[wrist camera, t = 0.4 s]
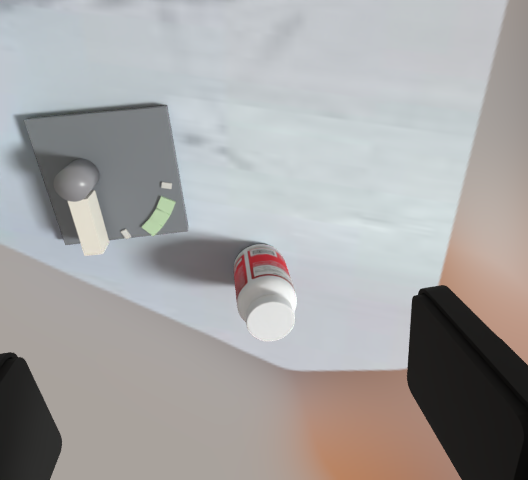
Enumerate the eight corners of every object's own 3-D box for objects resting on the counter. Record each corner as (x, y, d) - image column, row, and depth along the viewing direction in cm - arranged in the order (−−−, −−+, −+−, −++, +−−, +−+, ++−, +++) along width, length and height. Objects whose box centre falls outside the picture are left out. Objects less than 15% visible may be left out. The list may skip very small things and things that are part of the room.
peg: (63, 160, 38) (49, 171, 35) (95, 157, 39) (83, 168, 35) (88, 241, 42) (77, 258, 39) (116, 238, 43) (108, 255, 39)
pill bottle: (251, 295, 49) (260, 357, 39) (223, 259, 47) (225, 317, 37) (294, 270, 48) (314, 327, 39) (268, 232, 46) (282, 284, 36)
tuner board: (29, 117, 38) (22, 120, 36) (167, 105, 39) (165, 107, 37) (69, 240, 43) (64, 246, 42) (188, 227, 44) (187, 232, 43)
